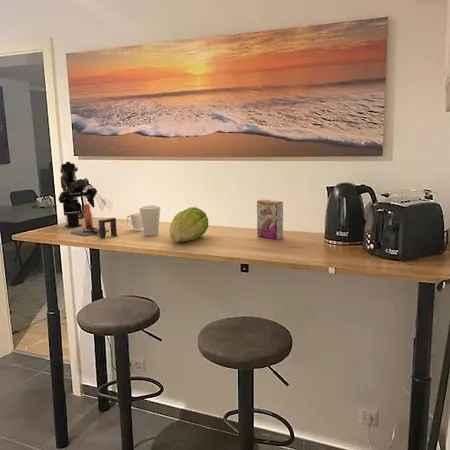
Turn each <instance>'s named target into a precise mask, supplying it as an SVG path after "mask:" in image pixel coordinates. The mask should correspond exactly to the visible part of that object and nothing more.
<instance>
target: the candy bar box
mask: <svg viewBox="0 0 450 450" xmlns="http://www.w3.org/2000/svg"><path fill="white" fill-rule="evenodd" d="M256 209H257V210H256V215H257V217H256V218H257V220H256V221H257V224H256V225H257V227H256V228H257V233H256V234H257V235H256V236H257V237H261V238H266V239H270V240H275V241H278V240H281V239H283V238H284V202H283V201H280V200H271V199H265V198H263V199H257V200H256Z"/></svg>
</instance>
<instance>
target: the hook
mask: <svg viewBox="0 0 450 450" xmlns="http://www.w3.org/2000/svg"><path fill="white" fill-rule="evenodd" d="M83 212H84V213H83V214H84V224H85V225H84V226H85V227H84V228H82V230H83V232H94V233H97V234H99V227H97V228H95V227H94V225H93V215H92V214H93V212H92V206H91V204H90V203H85V204H83ZM106 230H107V229H106V227H105V235H106V234H107V232H106ZM99 235H100V234H99Z"/></svg>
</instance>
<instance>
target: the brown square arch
mask: <svg viewBox="0 0 450 450" xmlns="http://www.w3.org/2000/svg"><path fill="white" fill-rule="evenodd" d="M97 221H98V228H99V239H106V234H105V228H106V225H105V224H106V223H109V224H110V236H111V237H117V236H118V234H117V233H118V232H117V230H118V229H117V219H116V217H109V218H108V217H107V218H101V219H98V220H97Z"/></svg>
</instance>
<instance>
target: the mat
mask: <svg viewBox="0 0 450 450" xmlns="http://www.w3.org/2000/svg"><path fill="white" fill-rule="evenodd" d="M95 228H98V227H95ZM107 232H110V230H109V229H106V233H107ZM70 234H74V235H78V236H81V237H86V236H91V235H96V234H98V233H94V232H83V229H79V230H75V231H74V230H73V231H70Z"/></svg>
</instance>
